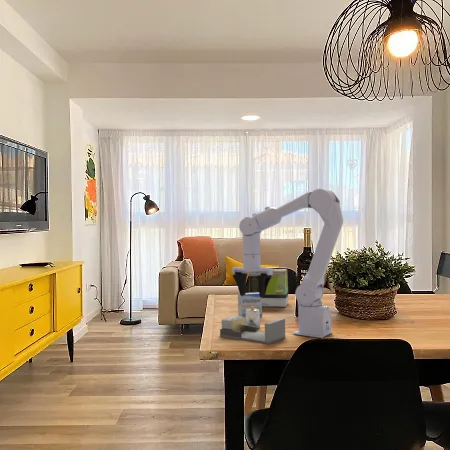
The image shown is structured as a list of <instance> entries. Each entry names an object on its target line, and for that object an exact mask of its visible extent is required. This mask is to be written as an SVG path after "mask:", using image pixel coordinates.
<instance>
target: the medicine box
mask: <svg viewBox="0 0 450 450" xmlns="http://www.w3.org/2000/svg"><path fill="white" fill-rule="evenodd" d="M251 306H254V309H259V310H260V318H262V317H263V306H262V298H261V297H260V295H259V292H256V293H249V292H246V293H245V295H243V296H240V293H239V292H238V293H237V308H238V313H237V314H238V315H237V316H242V317H245V319H246V309H251Z"/></svg>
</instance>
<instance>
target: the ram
mask: <svg viewBox="0 0 450 450" xmlns="http://www.w3.org/2000/svg"><path fill="white" fill-rule="evenodd" d="M221 329H225V330H232V331H239V332H241V331H244V330H246V318H245V317H242V316H238V315H233V316H228V317H226V318H223V319H221Z"/></svg>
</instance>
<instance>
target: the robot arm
mask: <svg viewBox="0 0 450 450" xmlns="http://www.w3.org/2000/svg"><path fill="white" fill-rule="evenodd" d="M302 209H313V210H314V211H315V212H316V213H317V214H319V216H320V218H321V220H322V221H323V223H324V225H323V226H322V230H321V233H320V235H319V239H318V241H317V244H316V247H315V249H314V253H313V256H312V259H311V262H310V263H309V264H310V265H309V268H308V270H307V273H306V274H305V275H304V277H303V278H302V281H301V283H300V285H298V286H297V287H296V289H295V292H294V293H295V294H294V296H295V299H296V300H297V310H298V313H297V314H298V315H297V316H298V317H297V319H298V324H297V325H298V326H297V327H298V330H295V331H294V332H292V334H293V335H297V336H306V337H312V338H320V339H323V338H325V337H327V336H329V335H331V334H332V333H333V331H332V313H331V308H330V307H329V306H327V305H324V304H323V301H322V298H323V295H324V293H325V292H324V291H325V289H324V286H325V285H324V284H325V275H326V272H327V269H328V266H329V264H330V261H331V257H332V255H333V252H334V250H335V246H336V243H337V241H338V238H339V235H340V232H341V229H342V227H343V223H344V219H343V214H342V211H341V210H342V209H341V202H340V199H339V198H338V196H337V195H336V193H335V192H333V191H331V190H327V189H326V190H325V189H322V188H317V189H314V190H312V191H309V192H306V193H304V194H302V195H299V196H298V197H296V198H294V199H292V200H289V202H287V203H285V204H283V205H280V206H279V207H274V206H265V207H264V210H262V211H260V212H258V213H255V212H254V213H252V216H244V218H242V219H241V221H240V222H239V225H238V226H239V227H238V228H239V231H240V233H242V266H233V267H231V271H232V272H231V273H232V278H233V279H234V282H235V283H236V286H237V289H238V294H239V293H240V296H243V295H245V293H247V292H246V291H247V289H246V286H247V285H246V284H247V283H246V282H247V277H248V275H249V274H261V275H258V276H257V279H258V283H259V295H260V297H261V298H262V297H265V293H266V289H267V286H268V283H269V281H270V279H271V277H272V275H273V269H274V268H271V267H270V268H269V267H262V266H261V264H262V263H261V233H262V232H263V231H265V230H267V229H269V228H271V227H274V226H277V225H278V224H280V223H281V221H282V219H283V217H286V216H288V215H291V214H293V213H296V212H298V211H300V210H302ZM249 271H256V272H249Z"/></svg>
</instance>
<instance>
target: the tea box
mask: <svg viewBox="0 0 450 450" xmlns="http://www.w3.org/2000/svg"><path fill="white" fill-rule="evenodd" d="M272 269H273V275H272V277H271V279H270V281H269V283H268V286H267V289H266V293H265V297H262V307H276V308H278V307H282V308H285V307H287V305H288V304H289V286H288V284H289V282H288V279H289V278H288V269H287V268H278V269H277V268H272ZM248 272H256V271H248ZM258 275H261V274H248V281H249V282H248V286H249V288H248V289H249V292H248V293H256V292H259V283H258V279H257V276H258Z"/></svg>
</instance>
